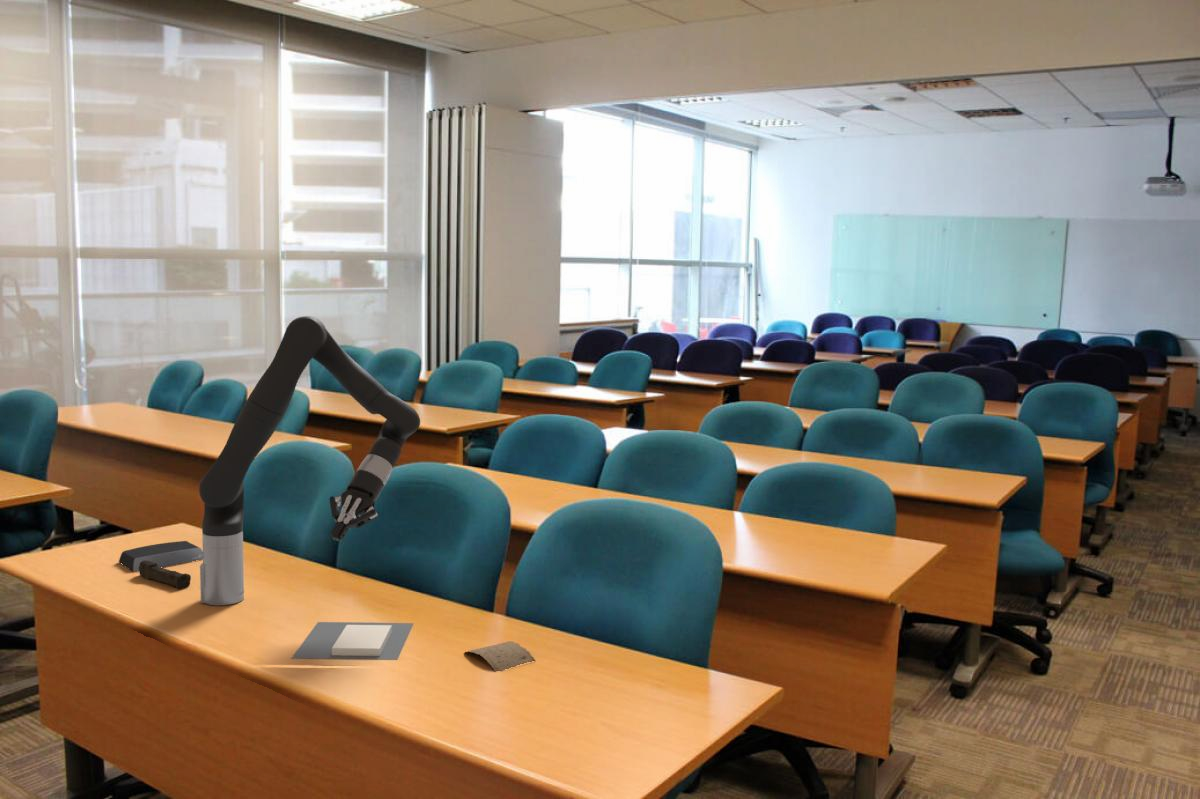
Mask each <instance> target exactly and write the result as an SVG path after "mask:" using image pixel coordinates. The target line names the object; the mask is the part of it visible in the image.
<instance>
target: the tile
mask: <svg viewBox="0 0 1200 799" xmlns="http://www.w3.org/2000/svg"><path fill="white" fill-rule="evenodd" d="M391 633H392V625H346V627H345V629H344V630H343V632H342V633H341V635H340V636H339V638H338V639H337V641H336V642H335V644H334V646H333V647H332V655H345V656H380V654H381V652H382V650H383V648H384V646H385V645H386V643H387V641H388V639H389V637H390V635H391Z"/></svg>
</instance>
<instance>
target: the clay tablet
mask: <svg viewBox="0 0 1200 799" xmlns="http://www.w3.org/2000/svg"><path fill="white" fill-rule="evenodd" d="M466 653H467V654H468V653H473V654H476V655H480V656H481V657H482V658H483V659H484V660H486V661H487V663H488V664H489V665H490V666H491V668H493V672H496V671H500V672H503V670H504V671H506V670H505V669H508V670H510V669H509V668H511V667H515V666H517V665H520V664H524V663H527V662H532V661H535V662H536V659H535V657H534V656H533V655H532V654H531V653H530V651H529V650H527V649H526V648H525V647H522V646H521V645H520V644H519V643H517V642H515V641H511V640H509V641H506V642H501V643H497V644H493V645H488V646H484V647H480V648H476V649H471V650H467V651H465V652H464V654H466ZM515 668H516V667H515ZM511 669H512V668H511Z"/></svg>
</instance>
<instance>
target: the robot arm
mask: <svg viewBox="0 0 1200 799" xmlns="http://www.w3.org/2000/svg"><path fill="white" fill-rule="evenodd" d="M312 359H313V360H314V361H316V362H317V363H319V364H320V365H321V366H322V367H324V368H325V369H326V370H327V371H328V372H329V373H330V374H331V375H332V376H333V377H334V378H335V379H336V381H338V383H339V384H340V385H341V386H342V388H343V389H344V390H345V391H346V392H347V393H348V394H349V396H351V398H353V400H355V401H356V402H357V403H358V404H359V405H360V406H361V407H362V408H363V409H364V410H366V411H367V412H368V413H369V414H371V415H379V416H381V417H383V418H384V419H385V421H384V423H383V424H382V426H381V429H380V430H379V432H378V435H377V438H376V440H375V442H374V443H373V445H372V446H371V447H370V449H369V451H368V452H367V454H366V456H365V458H364V459H363V460H362V461H361V463H360V464H359V466H358V468H357V469H356V471H355V473H354V474H353V476H352V478H351V479H350V481H349V483H348V485H347V488H346V490H344V491H343V492H342V493H341V494H340V496H336V497H335V496H334V495H332V496H330V497H329V504H330V511H331V515H332V518H333V520H334V522H335V525H334V526H333V529H332V530H331V533H330V535H331V539H332V540H334V541H337V542H340V541H341V540H343V539H345V537H346V535H347V533H348V532H349V530H350V529H352V528H354V529H359V528H361V527H363V526H364V525H367V524H369V523H370V522H373V521H374V520H376V519H378V517H379V515H378V513H377V511H376V509H375V508H374V507H375V502H376V501H377V499H378V498H379V496H380V495H381V493H382V491H383V489H384V487H385V486H386V484H387V483H388V481H389V479H390V476H391V474H392V471H393V469H394V468H395V466H396V464H397V463H398V461H399V459H400V457H401V454H402V447H403V445H404V444H405V443H406V441H407V439H408V438H409V437H410V436H412V435H413V434H414V433H415V432H417V430H418V429H419V428H420V425H421V417H420V416H419V413H418V412H417V411H416V409H415V408H414V407H413V406H412V405H410V404H409V403H408V402H405V401H404V400H402V399H401V398H399V397H398V396H397V395H394V394H393V393H391V392H389V391H388V390H387V389H386V388H385V387H384V386H383V385H382V384H381V383H380V382H379V381H377V379H376V378H375V377H373V375H372V374H370V373H369V372H368V371H367V370H366V369H364V367H362V366H361V365H360V364H359V363H357V362H356V361H355V360H354V359H353V358H352V357H351V356H350V355H349V354H348V353H347V352H346V351H345V349H343V348H342V347H341V346H340V345H339V343H338V342H337V341H336V340H335V339H334V337H333V336H332V335H331V333H330V332H329V330H328V329H327V328H326V326H325V324H324V323H323V322H322V321H321V320H320V319H318V318H316V317H314V316H309V315H306V316H304V315H303V316H299V317H296V318H294V319H293V320H291V322H289V324H288V325H287V327H286V329H285V332H284V334H283V336H282V339H281V340H280V344H279V346H278V348H277V350H276V353H275V355H274V357H273V359H272V361H271V363H270V364H269V366H268V368H266V370H265V372H264V373H263V374H262V375H261V377H260V379H259V380H258V381H257V383H256V385H255V386H254V388H253V389H252V391H251V392H250V394H249V396H248V397H247V399H246V401H245V403H244V405H243V406H242V408H241V410H240V412H239V414H238V416H237V418H236V420H235V422H234V425H233V427H232V429H231V431H230V434H229V435H228V438H227V439H226V440H227V441H226V442H225V445H224V447H223V448H222V451H221V452H220V453H219V455H218V457H217V458H216V460H215V461H214V463H213V464H212V465H211V467H210V468H209V469H208V471H207V472H206V473H205V474H204V475H203V477H202V478H201V480H200V482H199V486H198V487H199V489H198V491H199V496H200V499H201V500H202V502H203V505H204V506H203V508H204V509H203V510H204V512H203V518H202V522H201V524H202V525H201V529H202V530H201V532H202V533H201V534H202V551H203V560H202V563H201V564H200V565H199V577H200V578H199V581H200V585H199V586H200V587H199V588H200V604H205V605H206V604H207V605H209V606H210V605H211V606H228V605H234V604H238V603H240V602H242V601H243V600H245V586H244V585H245V583H244V582H245V581H244V579H245V578H244V575H245V572H244V569H245V568H244V532H243V531H244V530H243V529H244V528H243V527H244V524H243V523H244V518H245V517H244V516H245V483H244V479H245V477H246V475H247V473H248V471H249V469H250V467H251V466H252V463H253V462H254V460H255V459H256V457H257V456H258V454H260V452H261V451H262V450H263V448H264V447H265V445H266V444H267V443H268V441H270V439H271V437H273V435H274V433H275V431H276V429H278V427H279V425H280V423H281V422H282V419H283V418H284V416H285V414H286V412H287V410H288V408H289V406H290V404H291V401H292V398H293V396H294V394H295V390H296V387H297V384H298V382H299V380H300V377H301V375H302V374H303V372H304V370H305V369H306V368H307V366H308V365H309V363H310V361H311V360H312ZM340 506H341V510H340V511H339V507H340Z"/></svg>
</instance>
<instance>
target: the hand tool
mask: <svg viewBox="0 0 1200 799" xmlns="http://www.w3.org/2000/svg"><path fill="white" fill-rule="evenodd" d="M138 572H139V573H138V574H139V576H140V577H142V578H143V579H145V580H147V581H152V580H155V581H156V582H157V581H158V582H161V583H164V584H167V585H170V586H173V587H175V588H176V589H178V590H183V589H187V588H188V587H189V586H190V585H191V580H192V579H191V578H192V576H191V575H190V574H189V573H181V572H178V571H176V570H170V569H166V568H165V567H163V568H161V567H158V566H157V563H153V562H150V561H145V560H144V561H142V562H140V565H139V571H138Z"/></svg>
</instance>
